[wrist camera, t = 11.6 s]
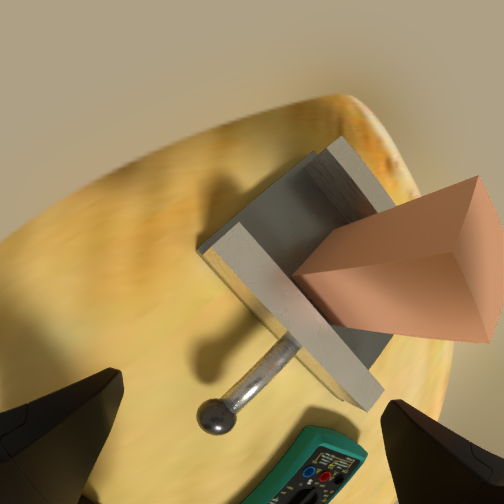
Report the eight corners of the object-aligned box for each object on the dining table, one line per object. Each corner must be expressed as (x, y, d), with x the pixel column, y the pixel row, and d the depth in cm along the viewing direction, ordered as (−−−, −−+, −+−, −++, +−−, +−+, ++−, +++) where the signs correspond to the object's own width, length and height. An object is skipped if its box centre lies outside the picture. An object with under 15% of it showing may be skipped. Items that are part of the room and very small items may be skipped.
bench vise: (271, 464, 18) (294, 493, 13) (111, 329, 16) (95, 341, 12) (411, 293, 24) (447, 292, 19) (308, 155, 22) (336, 130, 18)
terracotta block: (334, 325, 20) (489, 343, 8) (291, 276, 19) (452, 251, 7) (370, 277, 21) (513, 260, 9) (333, 229, 21) (478, 175, 9)
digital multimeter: (359, 440, 21) (377, 451, 18) (268, 539, 16) (278, 555, 14) (307, 416, 20) (325, 429, 17) (207, 526, 15) (213, 546, 13)
